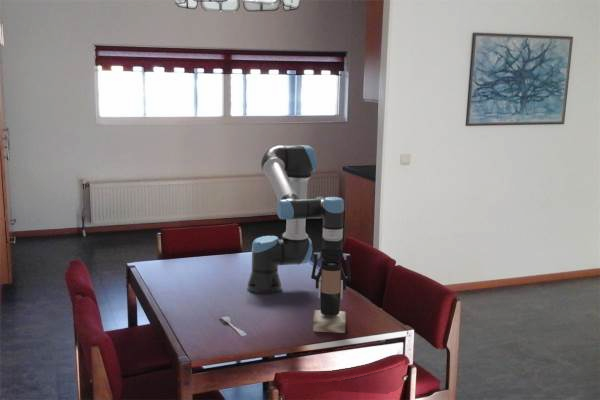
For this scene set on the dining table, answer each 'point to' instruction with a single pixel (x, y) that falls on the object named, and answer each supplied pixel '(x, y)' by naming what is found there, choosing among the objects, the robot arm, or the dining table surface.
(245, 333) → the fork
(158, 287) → the dining table surface
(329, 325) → the stand
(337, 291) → the travel mug
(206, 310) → the dining table surface
